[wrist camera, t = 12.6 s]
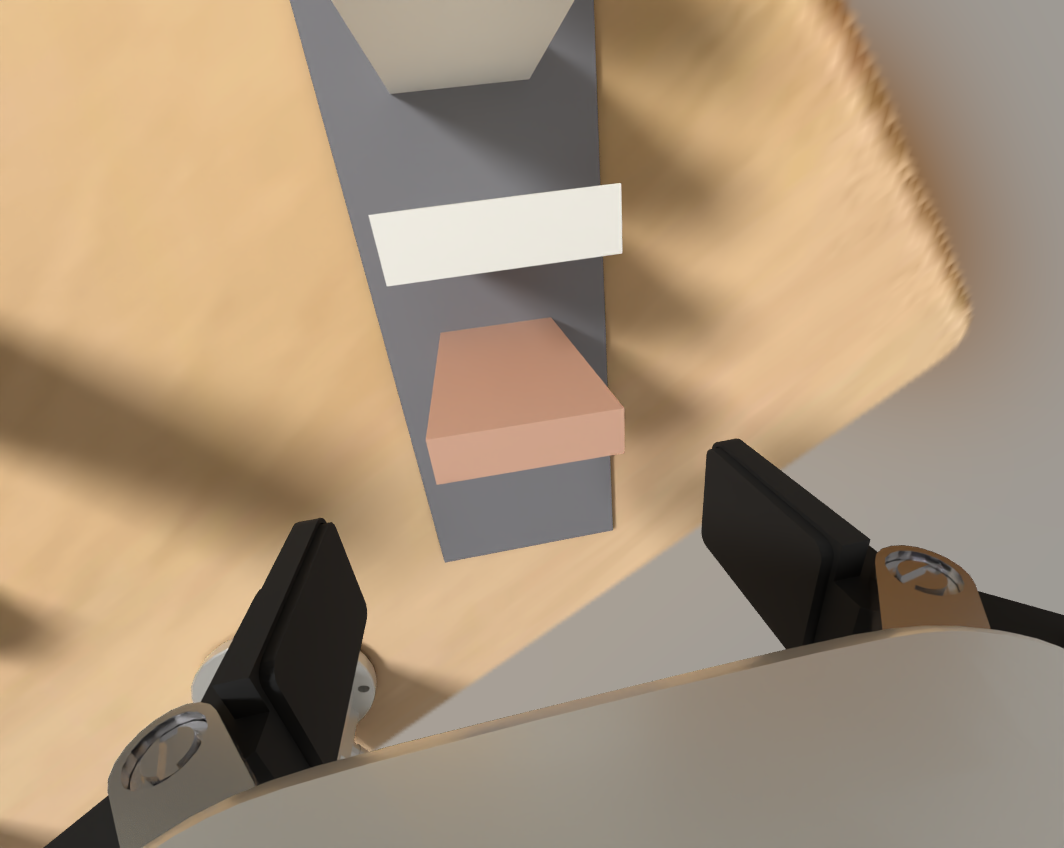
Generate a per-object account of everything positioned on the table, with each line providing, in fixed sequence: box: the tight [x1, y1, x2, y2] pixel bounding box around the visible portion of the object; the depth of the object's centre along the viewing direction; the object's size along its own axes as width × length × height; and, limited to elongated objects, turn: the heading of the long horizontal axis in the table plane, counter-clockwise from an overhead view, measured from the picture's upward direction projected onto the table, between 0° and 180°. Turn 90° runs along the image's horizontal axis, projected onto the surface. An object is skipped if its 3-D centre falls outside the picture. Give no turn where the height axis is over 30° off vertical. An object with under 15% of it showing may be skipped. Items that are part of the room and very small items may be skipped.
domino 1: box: [331, 0, 574, 94], centre depth 13 cm, size 2×6×12 cm, turn 97°
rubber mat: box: [290, 0, 613, 562], centre depth 23 cm, size 36×12×1 cm, turn 7°
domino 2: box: [368, 183, 622, 286], centre depth 16 cm, size 2×6×12 cm, turn 97°
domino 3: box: [426, 317, 625, 485], centre depth 19 cm, size 2×6×12 cm, turn 96°
